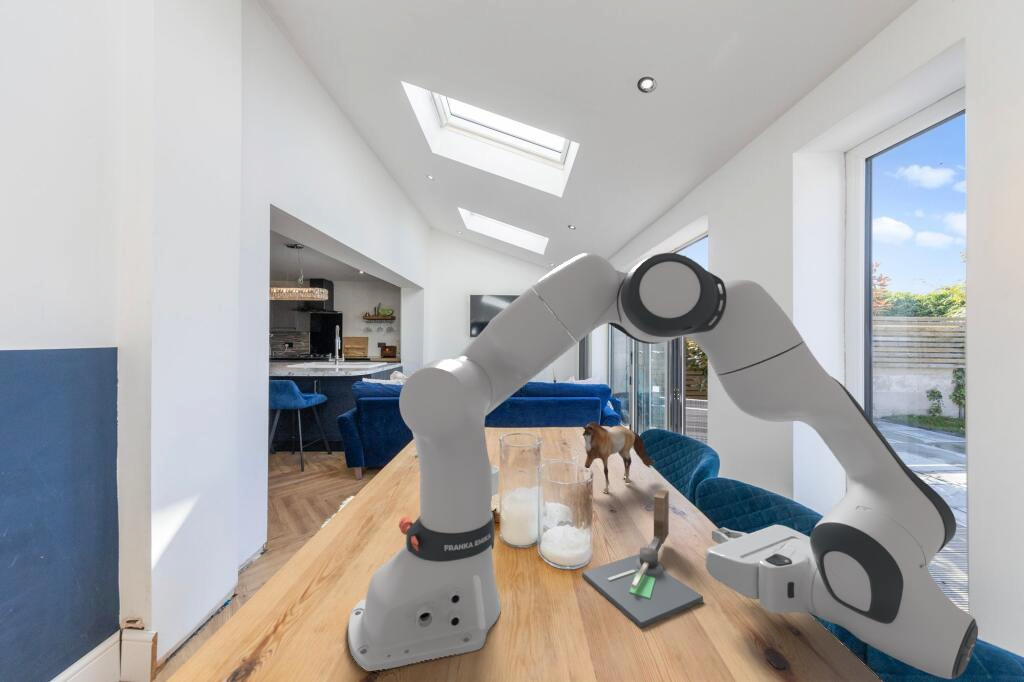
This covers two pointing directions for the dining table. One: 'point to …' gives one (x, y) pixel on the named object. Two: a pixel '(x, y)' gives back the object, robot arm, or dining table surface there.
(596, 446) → the horse figurine
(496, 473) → the white cup
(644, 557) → the lever with brown handle
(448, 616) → the robot arm
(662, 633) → the dining table surface
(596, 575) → the white-striped grey panel
